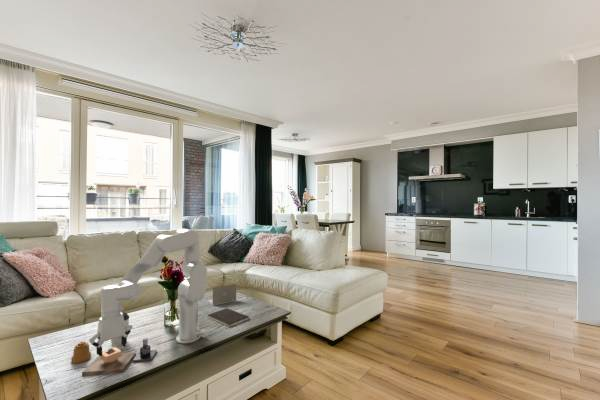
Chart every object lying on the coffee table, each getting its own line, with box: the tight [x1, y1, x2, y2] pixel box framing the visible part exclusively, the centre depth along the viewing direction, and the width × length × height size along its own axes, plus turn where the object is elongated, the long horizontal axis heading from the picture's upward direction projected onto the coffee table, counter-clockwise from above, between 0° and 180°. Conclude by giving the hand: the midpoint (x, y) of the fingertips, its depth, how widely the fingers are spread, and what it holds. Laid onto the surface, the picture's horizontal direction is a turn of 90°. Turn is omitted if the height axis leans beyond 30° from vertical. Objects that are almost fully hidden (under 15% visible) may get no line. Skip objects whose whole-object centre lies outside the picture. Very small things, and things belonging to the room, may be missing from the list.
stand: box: [132, 337, 158, 363], centre depth 138 cm, size 8×8×8 cm
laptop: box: [207, 283, 237, 306], centre depth 217 cm, size 18×12×13 cm
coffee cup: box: [110, 312, 130, 347], centre depth 152 cm, size 9×9×15 cm
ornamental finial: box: [70, 341, 92, 364], centre depth 136 cm, size 8×8×8 cm
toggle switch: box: [81, 347, 137, 377], centre depth 131 cm, size 16×14×8 cm
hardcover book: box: [206, 307, 250, 328], centre depth 184 cm, size 16×23×2 cm
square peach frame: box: [100, 346, 122, 363], centre depth 131 cm, size 6×6×2 cm
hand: (112, 350), depth 131 cm, fingers open, 9 cm apart
